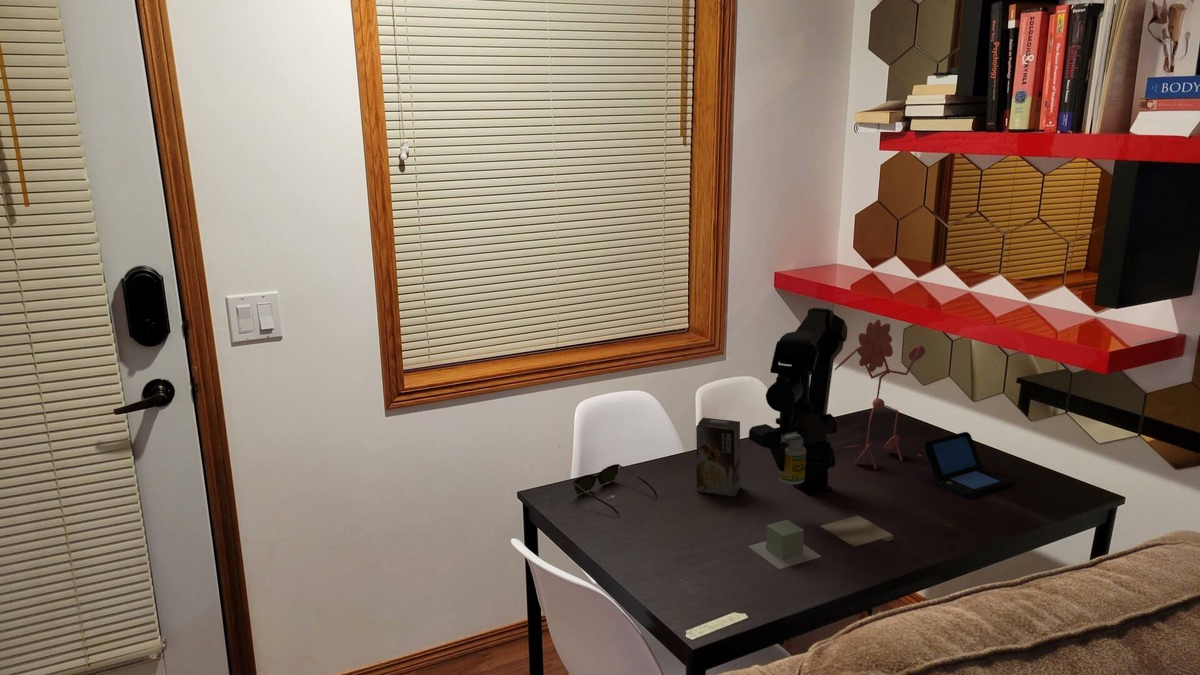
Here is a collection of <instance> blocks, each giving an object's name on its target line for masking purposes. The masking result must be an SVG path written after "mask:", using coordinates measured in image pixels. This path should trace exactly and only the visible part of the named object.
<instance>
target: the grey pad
mask: <svg viewBox="0 0 1200 675" xmlns="http://www.w3.org/2000/svg"><path fill="white" fill-rule="evenodd" d="M747 547H748V548H749V549H750V550H752V551H753V552H755V553H756V554H757V555H759V556H760V557H762V558H763V559H764V560H765V561H767V562H769V563H770V564H772V566H775V568H777V569H778V570H781V569H786V568H789V567H792V566H796V565H798V564H802V563H805V562H808V561H811V560H815V559H818V558H822V557H823V556H822V555H820V554H819V553H817V552H816V551H815V550H813V549H812V548H809V547H808V546H807V545H805V544H804V543H803V554H800V555H797V556H794V557H790V558H787V559H784V560H781V559H780V558H778V557H777V556H775V555H774V554H773V553H771V552H770V551H768V550H767V549H766V540H764V541H762V542H758V543H755V544H751V545H747Z"/></svg>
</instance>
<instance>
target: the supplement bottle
mask: <svg viewBox="0 0 1200 675" xmlns="http://www.w3.org/2000/svg"><path fill="white" fill-rule="evenodd" d="M785 443H787V444H789V446H788V447H787V448H786V449H785V465H784V471H780V470H779V469H778V478H779V481H781V482H782V483H784V484H788V485H793V484H800V483H802V482H804V480H805V466H806V448H805V447H804V446H803V445H802V444H803V438H802V437H801V436H800V435H799V434H791V435H787V436H785Z"/></svg>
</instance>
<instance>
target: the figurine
mask: <svg viewBox="0 0 1200 675" xmlns="http://www.w3.org/2000/svg"><path fill="white" fill-rule="evenodd" d="M881 324H882V323H881V320H880V319H877V320H875V321H874V322H870V321H869V322H868V323H867V326H866V329H865V332H860V333H859V334H858V343H859V345H860V346H858V347H856V349H855V350H854V351H852V352H851V353H850V354H849V355H848V356H846V357H845V359H844V360H842V362H840V363H839V364H838V365H837V366H836V367H835V368H834V369H833V370H834V371H837V369H839V368H840V367H841V366H842V365H843V364H844V363H846V361H848V360H849V359H850V358H851V357H852V356H853V355H855V354H856V353H857V354H858V355H859V356H860V359H859V361H858V363H859V366H860V367H863V366H864V367H865V369H866V370H867V373H868V375H869V377H870V379H871V380H873V379H876V378H877V377H879V378H878V379H879V380H878V386H877V393H876V398H875V399H874V400H873V401H872V408H871V409H872V410H871V413H870V416H869V420H868V427H867V437H866V445H865V448H864V449H863V451H862V452H861V453H860V455H859V457H858V458H857V459H856V460H855V461H854V464H856V463H858V461H859V460H860V459H861V457H863V455H864V454H865V453H866V452H867V450H868V453H869V456H870V459H871V462H872V465H873V466H872V467H873V469H874V470H877V469H878V468H877V465H876V462H875V459H874V455H873V454H872V450H871V444H872V442H870V443H869V438H870V431H871V430H870V429H871V421H872V418H873V414H874V410H875V409H876V410H882V409H883V408H884V407H885V408H888V409H890V410H893V411H896V415H895V423H894V429H893V436H891V438H890V439H889V440H888V441H887V442H886V443H885V445H884V449H885V451H886V452H888V453H889V452H891V451H892V450H893V449H894V448H896V451H897V454H898V457H899V459H900V462H903V461H904V459H903V457H902V454H901V451H900V447H899V443H900V440H901V438H900V435H896V432H897V431H896V430H897V424H898V417H899V410H898V409H896V408H892V406H888V405H886V404H885V401H884V400H883V399H882V398H880V397H879V395H880V390H881V384H882V378H884V377H885V376H886V375H887V374H891V373H893V374H897V375H902V376H903V375H904V376H908V374H909V372H910V370H911V369H912V367H913V365H914V363H915V362H916V361H917V360H920V359H921V358H922V357H923V356H924V355H925V354H926V348H925V346H923V345H922V344H919V345H917V346H915V347H913V348H912V349H911V350H910V351H909V352H908V359H909V360H910V361H911V362H910V365H909V366H908V367H907V368H908V369H907V370H906V371H905V372H902V371H896V370H892V369H890V368H889V365H888V362H887V358H886V357H889V358H890V357H892V356H893V353H894V351H893V346H892V344H891V343H892V341H893V338H892V336H891V335H890V330H891V324H890V323H884V324H882V325H881ZM884 365H885V366H884ZM883 366H884V367H885V369H886V370H883V371H881V372H879V373H876V374H874V375H873V374H872V373H873V372H875V370H876V369H878V368H882V367H883ZM847 447H848V446H846V447H845V449H847ZM852 447H853V448H854V445H851V446H849V448H852ZM855 447H860V446H859V444H857V445H856V444H855ZM917 455H918V456H920V457H922V455H921V454H919V453H917Z"/></svg>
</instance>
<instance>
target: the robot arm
mask: <svg viewBox="0 0 1200 675" xmlns="http://www.w3.org/2000/svg"><path fill="white" fill-rule="evenodd" d="M806 314H807V315H806V316H805V317H804V319H803V320H802V322H801V323H800V325H799V326H798V327H797V328H796V330H795V331H791V332H786V333H785V334H784V335H782V336H781V337H780V339H779V340H778V341H777V342H776V344H775V348H774V351H773V352H774V353H773V357H772V362H771V367H770V370H769V371H770V373H771V374H777V376H776V379H775V382H773V384H771V386H769V387H768V389H767V391H766V392H765V401H766V403H767V404H768V406H769V407H770V408H771V409H772V410H773V411H776V412H779V417H777V418H775V424H777V425H779V426H778V427H773V426H771V425H769V424H766V423H765V424H760V425H759V424H758V425H754V426H751V427H750V429H749V430H748V440H749V441H751V442H753V443H755V444H757V445H759V446H760V447H762V448H765V449H767V448H768V450H770V453H771V455H772V457H773V459H774V462H775V464H776V466H777V468H778V471H779V470H780V471H784V465H785V449H786V448H787V447H788V446H789V444H787V443H785V436H787V435H791V434H799V435H800V436H801V437H802V438H803V444H802V445H803V446H804V447H805V448H806V466H805V480H804V482H802V483H800V484H792V486H793V487H795V488H797V489H798V490H800V491H801V492H803V493H805V494H806V495H809V496H814V495H817V494H822V493H825V492H826V493H827V492H828V491H832V490H833V487H832V486H830V485H829V473H828V471H829V470H830V469H831V468H835V467H836V453H835V452H836V451H835V449H834V446H833V443H832V442H831V440H832V439H831V438H832V435H831V434H834V433H837V432H838V422H837V420H836V419H835V416H833V415H832V414H831V413H828V407H829V406H828V405H829V399H830V398H829V397H830V390H831V382H832V377H833V375H832V374H833V370H834V369H833V368H834V361H835V359H836V358H837V357H838V355H839V354H840V353H841V352H842V350H843V349H844V343H845V342H846V341H847V337H848V326H847V323H846V321H845V320H844V319H843V318H841V317H840V316H838V315H836V314H835V313H834V311H833V310H832V309H830V308H822V307H821V308H820V307H812V308H808V310H807V313H806Z"/></svg>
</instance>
